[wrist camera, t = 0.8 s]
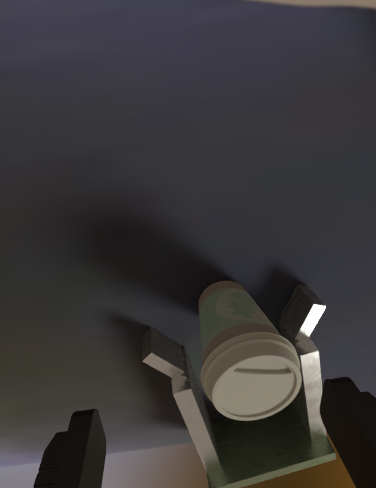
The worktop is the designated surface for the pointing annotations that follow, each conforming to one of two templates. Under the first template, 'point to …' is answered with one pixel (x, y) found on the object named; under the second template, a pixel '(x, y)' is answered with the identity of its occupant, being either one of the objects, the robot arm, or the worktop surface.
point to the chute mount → (261, 430)
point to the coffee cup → (244, 355)
